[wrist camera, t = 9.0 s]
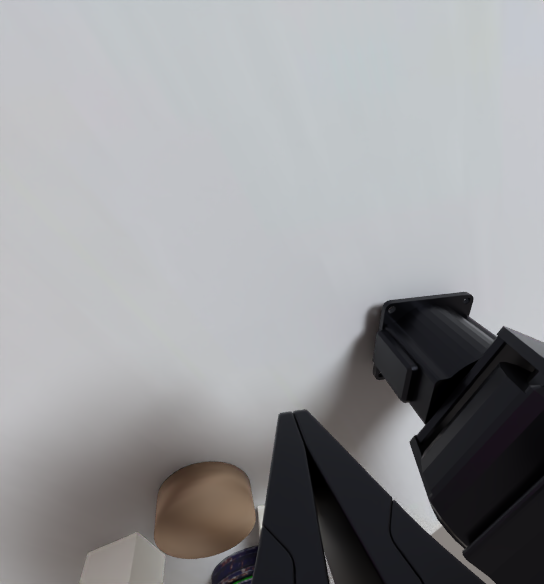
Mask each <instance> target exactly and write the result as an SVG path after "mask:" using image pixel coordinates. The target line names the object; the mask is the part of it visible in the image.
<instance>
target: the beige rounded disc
mask: <svg viewBox="0 0 544 584" xmlns="http://www.w3.org/2000/svg"><path fill="white" fill-rule="evenodd" d="M255 520H256V515H255V509H254V503H253V498H252V492H251V486H250V481H249V478H248V476H247V475H246V474H245V473H244V472H243V471H242V470H241V469H239V468H238V467H236V466H234V465H231V464H228V463H223V462H201V463H196V464H192V465H189V466H186V467H184V468H182V469H180V470H178V471H177V472H175V473H173V474H172V475H171V476H170V477H169V478H167V479H166V480H165V482H164V483H163V484H162V486H161V487H160V489H159V492H158V496H157V507H156V519H155V530H154V540H155V543H156V545H157V547H158V548H159V549H160V550H161V551H162V552H164V553H166V554H167V555H170V556H173V557H177V558H183V559H197V558H205V557H209V556H213V555H216V554H220V553H222V552H224V551H227V550H229V549H231V548H232V547H234V546H236V545H237V544H239V543H240V542H241V541H242V540H244V539H245V538H246V537H247V536H248V535H249V533H250V532H251V530H252V529H253V527H254V524H255Z"/></svg>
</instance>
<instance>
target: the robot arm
mask: <svg viewBox="0 0 544 584" xmlns="http://www.w3.org/2000/svg"><path fill="white" fill-rule="evenodd" d="M464 299H465V300H464ZM472 303H473V296H472V295H471V294H469V293H467V292H459V293H451V294H442V295H433V296H424V297H415V298H406V299H397V300H389V301H387V302H385V303H384V304H383V306H382V311H381V318H380V325H379V331H378V332H377V335H376V342H375V349H374V356H373V362H374V367H373V375H374V376H375V378H376V379H378V380H383V379H386V381H387V382H388V383H389V385H390V386H391V388H392V389H393V390H394V392H395V393H396V395H397V396H398V398H399V399H400V400H401V401H402V402H403V403H407V402H409V403H410V405H411V406H412V407H413V409H414V410H415V411H416V413H417V414H418V416H419V417H420V418H421V420H422V421H423V422H424V424H425V426H424V427H423V429H422V430H421V431H420V432H419V433H418V435H415V436H414V437H413V438H412V439H411V441H410V445H411V448H412V451H413V454H414V457H415V460H416V463H417V466H418V469H419V472H420V475H421V478H422V481H423V484H424V487H425V490H426V493H427V496H428V499H429V502H430V504H431V507H432V509H433V511H434V513H435V515H436V517H437V519H438V521H439V522H440V523H441V524H442V525H443V527H444V528H445V529H446V531H447V532H448V533H449V534H450V535H451V536H452V537H453V538H454V539H455V541H456V542H458V543H459V544H460V545H461V546H462V547H463V548H464V550H463V552H462V553H463V556H464V557H465V558H466V560H468V561H469V562H470V563H471V564H473V565H474V566H475V567H477V568H478V569H479V570H481V571H482V572H483V573H485V574H486V575H487V576H489V577H490V578H491V579H492V580H493V581H494V582H495V583H496V584H544V342H541V341H539V340H536V339H534V338H532V337H529V336H527V335H524V334H522V333H519V332H517V331H515V330H512V329H510V328H507V327H505V326H503V327H502V328H501V330H500V331H499V332H498V333H497V335H498V336H497V337H496V336H495V335H494V334H492V333H491V332H490V331H488V330H487V329H485V328H484V327H483V326H481V325H480V324H479V323H477V322H476V321H474V320H473V319H472V318H470V317H469V314H470V310H471V307H472ZM392 306H393V307H392ZM390 307H392V309H390V310H389V308H390ZM380 372H381V373H380ZM324 552H325V555H326V558H327V561H328V564H329V567H330V570H331V573H332V576H333V579H334V582H335V584H486V583H484V582H483V581H482V580H481V579H480V578H479V577H477V576H476V575H475V574H474V573H473V572H471V571H470V570H469V569H468V568H467V567H466V566H465V565H463V564H462V563H461V562H460V561H459V560H458V559H456V558H455V557H454V556H453V555H452V554H450V553H449V552H448V551H447V550H446V549H445V548H444V547H443V546H441V545H440V544H439V543H438V542H437V541H436V540H435V539H434V538H432V536H430V535H429V534H428V533H427V532H426V531H425V530H424V529H423V528H422V527H421V526H420V525H419V524H418V523H417V522H416V521H415V520H414V519H413V518H412V517H411V516H410V515H409V514H407V513H406V512H405V510H404V509H403V508H402V507H401V506H400V505H399V504H398V503H397V502H396V501H395V500H393V501H392V497H391V496H390V495H389V494H388V493H387V492H386V491H385V490H384V489H383V488H382V487H381V486H380V485H379V484H378V483H377V482H376V481H375V480H374V479H373V478H372V477H371V476H370V474H369V473H368V472H367V471H366V470H365V469H364V468H363V467H362V466H361V465H360V464H359V463H358V462H357V461H356V460H355V459H354V458H353V457H352V456H351V455H350V454H349V453H348V452H347V451H346V450H345V449H344V448H343V447H342V446H341V445H340V444H339V443H338V441H337V440H336V439H335V438H334V437H333V436H332V435H331V434H330V433H329V432H328V431H327V430H326V429H325V428H324V427H323V426H322V425H321V424H320V423H319V422H318V421H317V420H316V419H315V418H314V417H313V416H312V415H311V414H310V413H309V412H308V411H307V410H305V409H303V410H297V411H294V412H293V413H292V412H284V413H280V414H279V416H278V422H277V429H276V435H275V442H274V449H273V455H272V462H271V468H270V475H269V482H268V488H267V495H266V502H265V508H264V515H263V521H262V528H261V534H260V540H259V547H258V552H257V557H256V563H255V568H254V573H253V577H252V581H251V584H330V583H329V577H328V572H327V566H326V560H325V555H324Z"/></svg>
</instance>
